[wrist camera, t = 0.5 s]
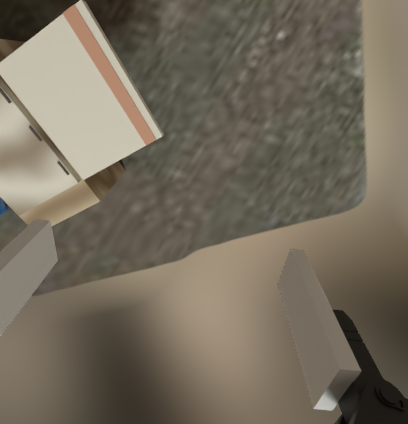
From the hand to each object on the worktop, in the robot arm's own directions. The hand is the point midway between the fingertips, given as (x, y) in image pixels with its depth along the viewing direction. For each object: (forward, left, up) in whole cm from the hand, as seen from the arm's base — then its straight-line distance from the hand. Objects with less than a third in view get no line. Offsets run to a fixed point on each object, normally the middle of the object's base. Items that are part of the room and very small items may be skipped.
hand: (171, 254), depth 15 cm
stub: (-10, -6, -15) cm, 19 cm away
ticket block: (-10, -16, -25) cm, 32 cm away
